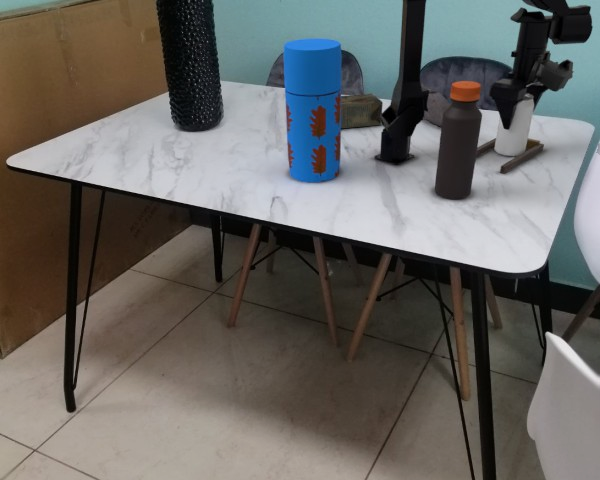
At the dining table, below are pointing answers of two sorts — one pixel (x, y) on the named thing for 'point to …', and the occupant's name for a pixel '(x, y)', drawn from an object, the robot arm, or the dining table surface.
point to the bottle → (459, 141)
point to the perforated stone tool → (435, 107)
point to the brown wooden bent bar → (533, 150)
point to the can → (515, 130)
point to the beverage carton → (360, 110)
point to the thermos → (313, 108)
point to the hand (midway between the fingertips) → (517, 123)
